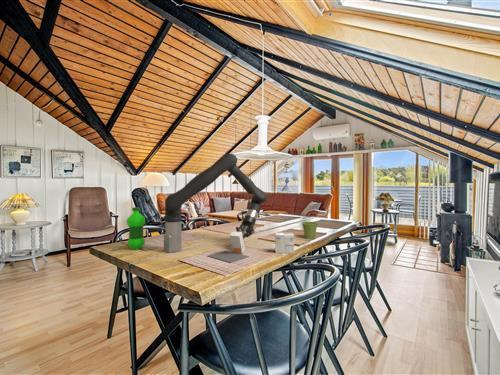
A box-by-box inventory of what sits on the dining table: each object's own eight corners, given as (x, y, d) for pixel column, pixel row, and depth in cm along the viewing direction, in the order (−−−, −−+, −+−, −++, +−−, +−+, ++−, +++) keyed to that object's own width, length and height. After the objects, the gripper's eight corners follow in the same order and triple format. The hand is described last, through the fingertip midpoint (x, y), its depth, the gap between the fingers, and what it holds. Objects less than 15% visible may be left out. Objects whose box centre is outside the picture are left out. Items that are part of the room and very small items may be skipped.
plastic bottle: (146, 248, 154) (146, 207, 154) (127, 251, 148) (127, 208, 148) (144, 245, 162) (143, 206, 162) (125, 247, 157) (125, 207, 156)
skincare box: (233, 253, 144) (229, 235, 139) (235, 248, 148) (232, 231, 143) (242, 254, 142) (239, 236, 137) (245, 249, 145) (242, 231, 141)
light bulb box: (293, 250, 149) (293, 232, 149) (294, 253, 142) (294, 234, 142) (275, 250, 150) (275, 232, 150) (275, 253, 143) (275, 234, 143)
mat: (230, 263, 125) (230, 262, 125) (207, 256, 137) (207, 255, 137) (249, 256, 136) (249, 256, 136) (225, 251, 148) (225, 250, 148)
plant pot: (299, 236, 189) (299, 221, 189) (314, 236, 190) (314, 221, 190) (304, 240, 177) (304, 224, 177) (320, 239, 178) (320, 223, 178)
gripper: (239, 214, 157) (227, 237, 146) (257, 215, 150) (246, 239, 139) (243, 221, 161) (232, 244, 151) (261, 223, 154) (251, 247, 144)
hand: (239, 242), depth 145 cm, fingers closed
